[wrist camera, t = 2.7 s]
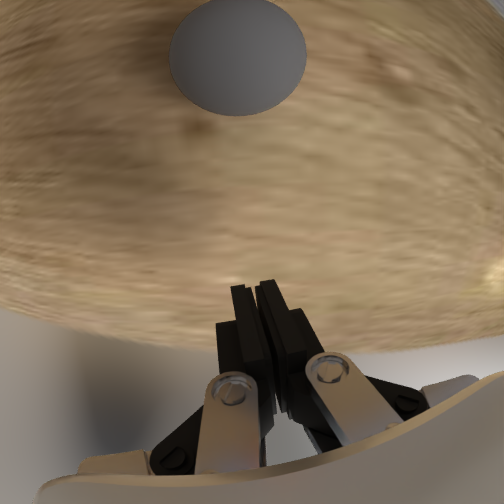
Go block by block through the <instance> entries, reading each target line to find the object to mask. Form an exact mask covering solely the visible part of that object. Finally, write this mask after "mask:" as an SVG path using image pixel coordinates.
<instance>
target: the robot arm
mask: <svg viewBox="0 0 504 504" xmlns="http://www.w3.org/2000/svg"><path fill="white" fill-rule="evenodd" d="M230 288H231V294H232V299H233V305H234V311H235V317H236V320H233V321H227V322H221V323H216V337H217V349H218V361H219V372H220V375H218V376H216V377H215V378H214V379H212V380H211V381H210V383H209V384H208V386H207V389H206V393H205V399H204V405H203V406H202V407H200V408H199V410H197V411H196V412H195V413H194V414H193V415H192V416H190V417H189V418H188V419H187V420H186V421H185V422H184V423H183V424H181V425H180V426H179V427H178V428H177V429H176V430H175V431H173V432H172V433H171V434H170V435H169V436H167V437H166V438H165V439H164V440H163V441H161V442H160V443H159V444H158V445H157V446H156V447H155V448H154V449H153V450H152V451H147V452H145V451H144V450H143V449H142V450H137V451H132V452H125V453H118V454H111V455H102V456H93V457H89V458H86V459H85V460H83V461H82V462H81V463H80V465H79V467H78V473H77V474H72V475H66V476H62V477H58V478H55V479H52V480H50V481H48V482H46V483H44V484H43V485H42V486H41V487H40V488H39V489H38V491H37V493H36V494H35V497H34V499H33V502H32V504H504V371H502V372H498V373H494V374H492V375H489V376H487V377H485V378H483V379H481V380H479V379H478V378H476V377H475V376H473V375H462V376H459V377H456V378H453V379H450V380H447V381H443V382H439V383H436V384H432V385H428V386H424V387H422V388H421V390H419V391H418V390H416V389H413V388H410V387H406V386H402V385H398V384H394V383H390V382H387V381H383V380H379V379H376V378H372V377H368V376H365V375H364V374H363V373H362V372H361V371H360V370H359V369H358V368H357V366H356V365H355V364H354V363H353V362H352V361H351V360H350V359H349V358H348V357H347V356H345V355H343V354H341V353H337V352H325V351H324V349H323V347H322V346H321V344H320V342H319V340H318V338H317V336H316V334H315V332H314V331H313V329H312V327H311V325H310V323H309V321H308V319H307V317H306V316H305V314H304V312H303V310H302V309H301V308H298V309H293V310H289V309H288V307H287V305H286V303H285V301H284V299H283V296H282V294H281V292H280V290H279V288H278V286H277V284H276V282H275V280H274V279H272V280H266V281H260V285H259V286H255V293H256V301H257V306H256V303H255V300H254V296H253V293H252V289H251V287H248V288H245V284H243V285H237V286H231V287H230ZM257 309H258V310H257ZM275 393H276V396H277V400H278V403H279V406H280V410H281V413H284V412H287V414H288V417H289V419H293V420H294V421H295V422H297V423H299V424H302V425H303V428H304V431H305V433H306V434H307V436H308V438H309V439H310V441H311V443H312V445H313V447H314V448H315V450H316V452H317V453H318V455H315V456H311V457H307V458H304V459H300V460H296V461H291V462H287V463H282V464H278V465H272V466H267V454H266V437H265V436H266V435H267V433H268V432H269V431H270V430H271V428H272V427H273V426H274V418H273V415H274V414H277V410H276V398H275Z"/></svg>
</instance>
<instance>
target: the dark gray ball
mask: <svg viewBox="0 0 504 504" xmlns="http://www.w3.org/2000/svg"><path fill="white" fill-rule="evenodd" d="M306 58H307V53H306V44H305V40H304V37H303V34H302V32H301V30H300V28H299V27H298V25H297V24H296V22H295V21H294V20H293V18H292V17H291V16H290V15H289V14H288V13H287V12H285V11H284V10H283V9H281V8H280V7H278V6H277V5H275V4H273V3H271V2H269V1H266V0H212V1H209V2H207V3H205V4H203V5H201V6H199V7H198V8H196V9H195V10H193V11H192V12H191V13H190V14H189V15H187V17H186V18H185V19H184V20H183V21H182V22H181V24H180V25H179V27H178V28H177V29H176V31H175V33H174V35H173V38H172V41H171V44H170V50H169V65H170V70H171V73H172V76H173V79H174V81H175V83H176V85H177V86H178V88H179V89H180V90H181V92H182V93H183V94H184V95H185V96H186V97H187V98H188V99H189V100H191V101H192V102H193V103H194V104H196V105H198V106H199V107H201V108H203V109H205V110H207V111H210V112H213V113H216V114H220V115H226V116H246V115H252V114H257V113H260V112H263V111H266V110H268V109H271V108H272V107H274V106H276V105H278V104H279V103H280V102H282V101H283V100H284V99H286V98H287V97H288V96H289V95H290V94H291V93H292V92H293V90H294V89H295V88H296V87H297V85H298V83H299V82H300V80H301V78H302V75H303V73H304V70H305V66H306Z"/></svg>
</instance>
